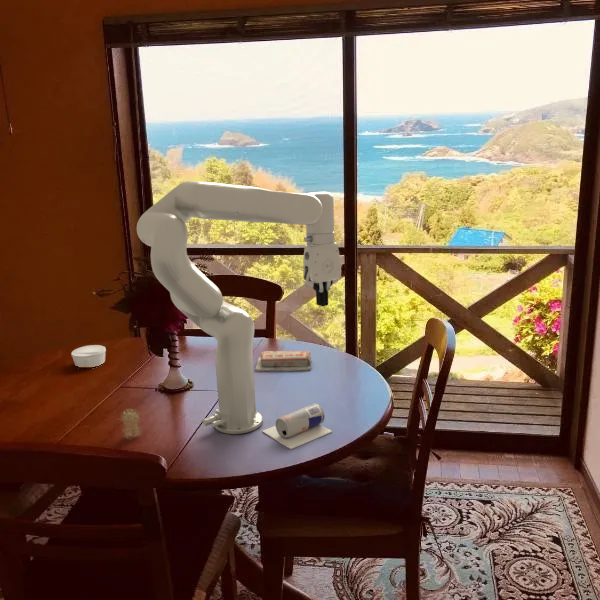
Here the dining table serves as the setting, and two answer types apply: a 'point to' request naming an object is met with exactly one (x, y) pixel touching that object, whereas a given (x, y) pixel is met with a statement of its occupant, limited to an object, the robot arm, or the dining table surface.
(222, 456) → the dining table surface
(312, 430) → the mat
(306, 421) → the energy drink
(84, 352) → the ramekin
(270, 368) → the packaged product
